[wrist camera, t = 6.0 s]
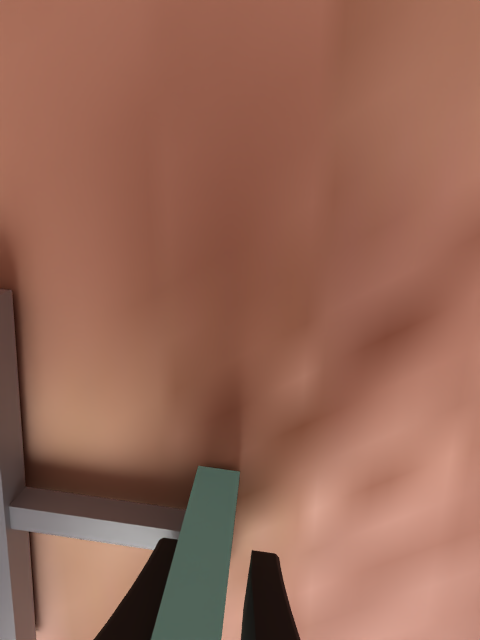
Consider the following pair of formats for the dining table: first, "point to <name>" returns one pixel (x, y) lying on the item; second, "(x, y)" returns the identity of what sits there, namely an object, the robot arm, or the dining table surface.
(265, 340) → the dining table surface
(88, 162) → the dining table surface
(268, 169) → the dining table surface
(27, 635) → the frame with teal handle
